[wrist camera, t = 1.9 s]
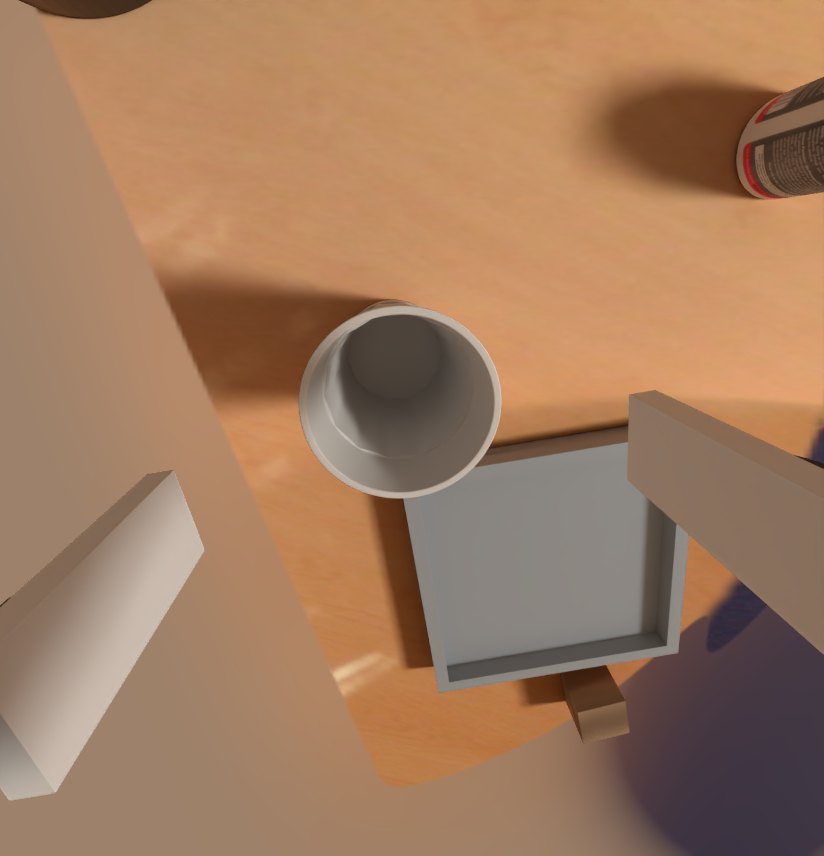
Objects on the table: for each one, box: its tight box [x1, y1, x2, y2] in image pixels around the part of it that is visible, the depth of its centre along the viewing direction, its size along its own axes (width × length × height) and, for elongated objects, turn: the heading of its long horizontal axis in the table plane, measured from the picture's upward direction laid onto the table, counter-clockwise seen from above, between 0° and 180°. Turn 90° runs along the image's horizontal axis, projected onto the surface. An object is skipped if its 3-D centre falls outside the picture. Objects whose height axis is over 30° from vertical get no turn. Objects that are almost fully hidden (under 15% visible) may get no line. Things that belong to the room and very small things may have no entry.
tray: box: [403, 426, 689, 693], centre depth 34 cm, size 20×20×2 cm
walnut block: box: [560, 665, 629, 744], centre depth 39 cm, size 4×4×4 cm
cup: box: [299, 300, 501, 498], centre depth 23 cm, size 8×8×12 cm
